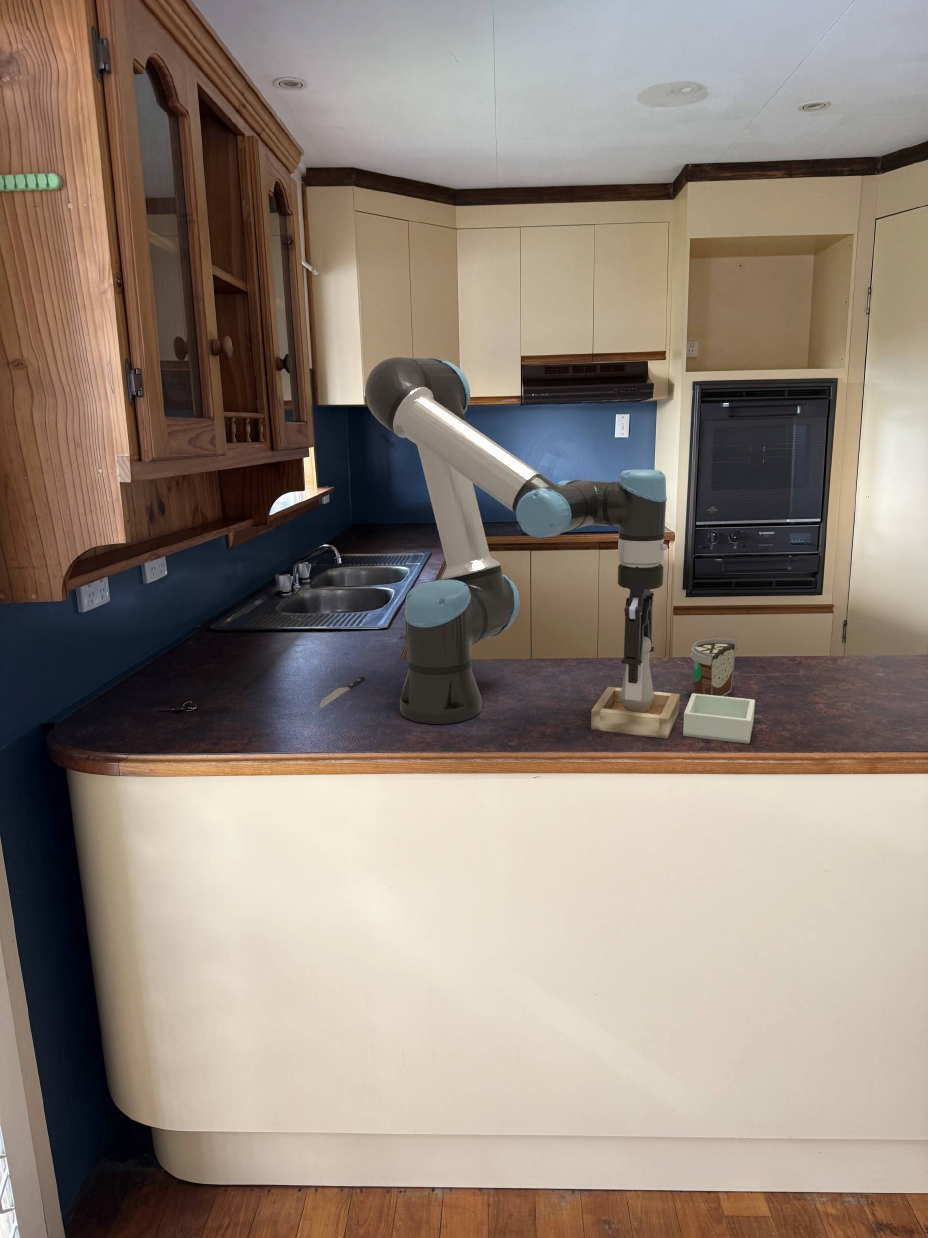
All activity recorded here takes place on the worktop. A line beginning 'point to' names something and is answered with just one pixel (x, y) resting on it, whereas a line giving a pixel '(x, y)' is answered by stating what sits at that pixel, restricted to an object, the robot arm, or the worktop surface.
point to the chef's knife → (339, 692)
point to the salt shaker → (646, 684)
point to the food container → (713, 666)
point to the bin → (719, 718)
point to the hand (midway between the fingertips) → (636, 693)
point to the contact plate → (652, 710)
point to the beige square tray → (635, 715)
